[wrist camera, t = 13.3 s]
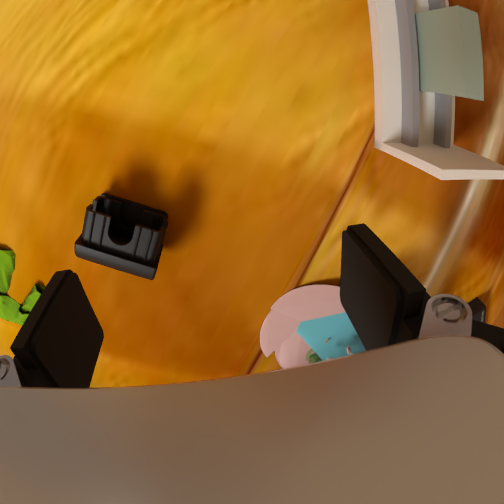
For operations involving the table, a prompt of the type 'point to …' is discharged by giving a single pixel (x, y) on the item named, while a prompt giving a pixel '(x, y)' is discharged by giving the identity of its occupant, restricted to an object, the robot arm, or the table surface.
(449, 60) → the door panel
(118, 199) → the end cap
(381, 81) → the cabinet base
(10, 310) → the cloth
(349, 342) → the flower arrangement
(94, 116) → the table surface
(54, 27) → the table surface
